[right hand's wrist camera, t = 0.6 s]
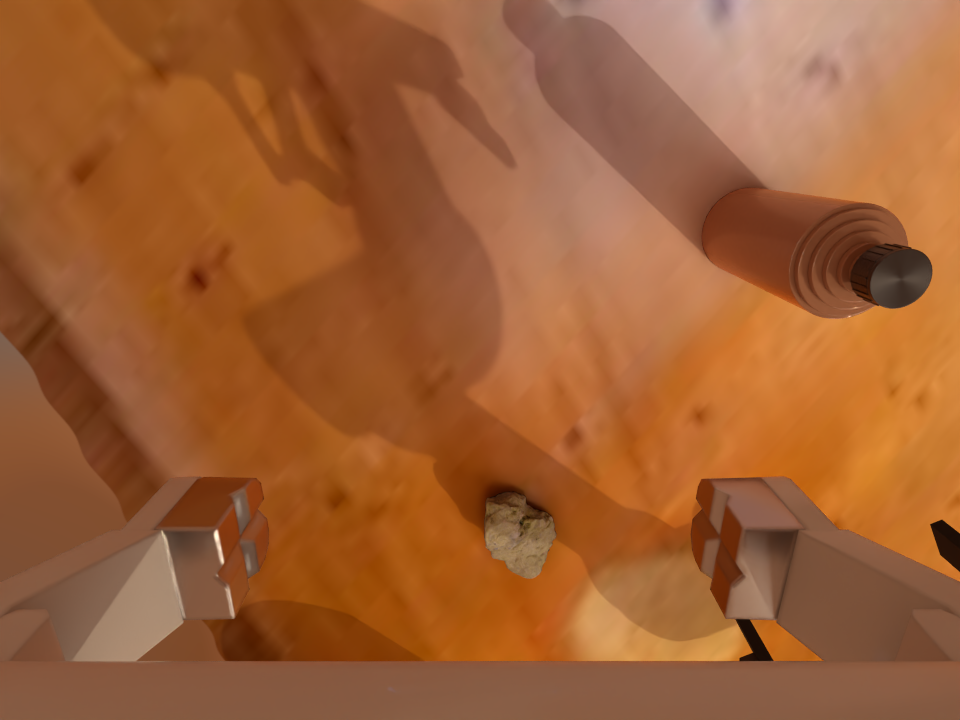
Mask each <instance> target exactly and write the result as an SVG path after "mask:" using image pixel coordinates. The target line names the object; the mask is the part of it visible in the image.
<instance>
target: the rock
mask: <svg viewBox="0 0 960 720" xmlns="http://www.w3.org/2000/svg"><path fill="white" fill-rule="evenodd" d="M484 530H485V533H484V538H485V542H486V548H487V549H488V550H490V551H491V555H492V558H494V559H499V560H504V561H505V563H506V565H507V568H508V569H509V570H510V571H512V572H514V573H516V574H518V575H520V576H522V577H525V578H534V577H536V576H537V575H539V574H540V572H541V570H542V566H543V564H544V562H545V561H546V557H547V552H548V551H549V548H550V547H551V546H552V541H553V540H554V539H555V538H556V532H555V530H554V522H553V518H552V517H551V515H549V514H547V513H546V512H543V511H539V510H537V509H533V508H532V507H531V506H529V505H527V504H526V497H525V496H524V495H521V494H518V493H516V492H504V493H501V494H498V495H496V496H494V497H491V498H487V500H486V514H485V519H484Z"/></svg>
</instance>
